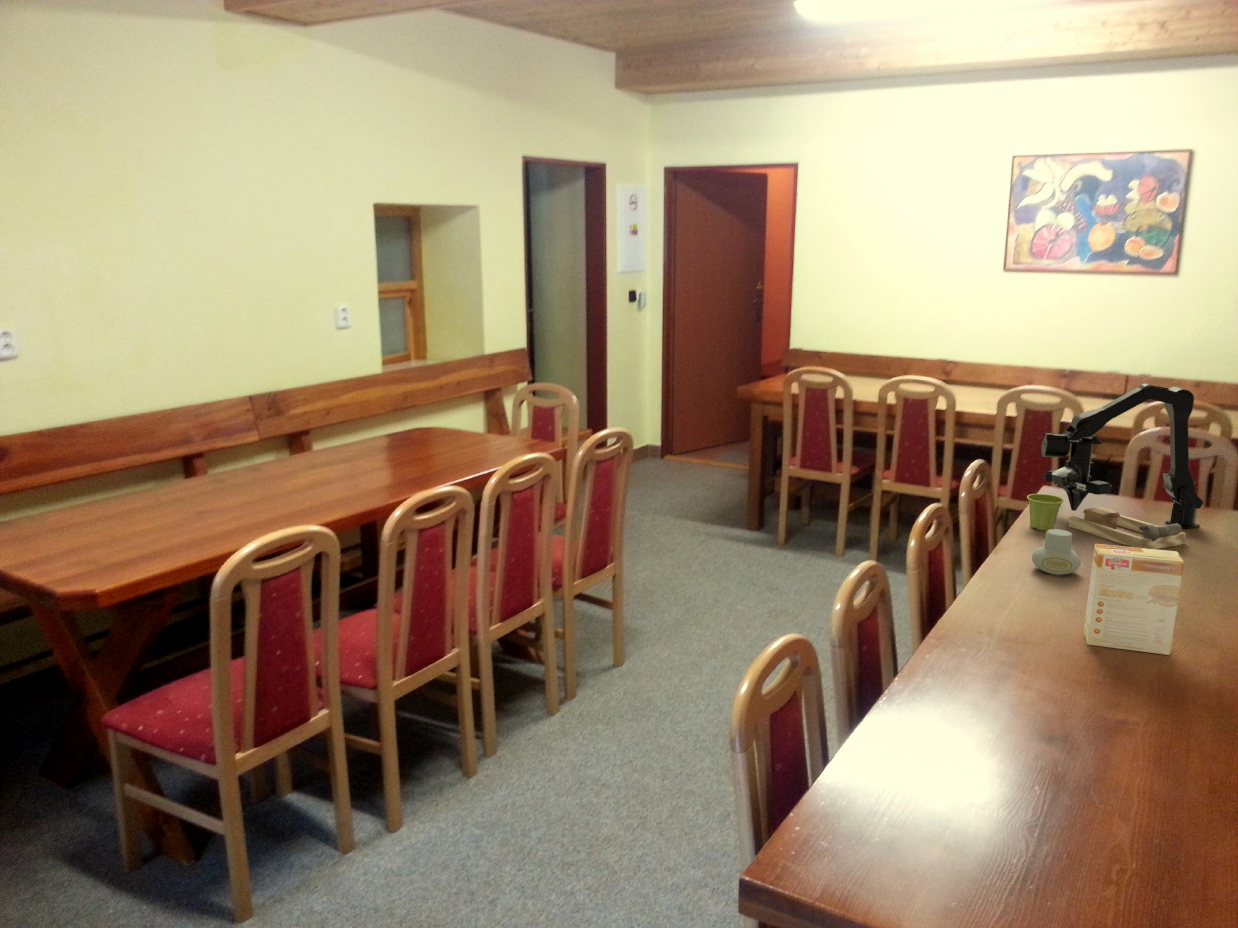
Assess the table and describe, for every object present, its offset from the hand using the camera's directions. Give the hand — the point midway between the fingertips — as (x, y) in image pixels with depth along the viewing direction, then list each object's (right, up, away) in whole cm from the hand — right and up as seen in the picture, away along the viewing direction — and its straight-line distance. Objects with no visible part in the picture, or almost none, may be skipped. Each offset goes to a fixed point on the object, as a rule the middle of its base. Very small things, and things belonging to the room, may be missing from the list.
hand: (1073, 510), depth 279 cm
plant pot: (-13, -5, -9) cm, 17 cm away
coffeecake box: (-31, -23, -87) cm, 95 cm away
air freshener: (-26, -13, -45) cm, 53 cm away
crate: (+4, -5, -8) cm, 10 cm away
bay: (+7, -6, -15) cm, 17 cm away
